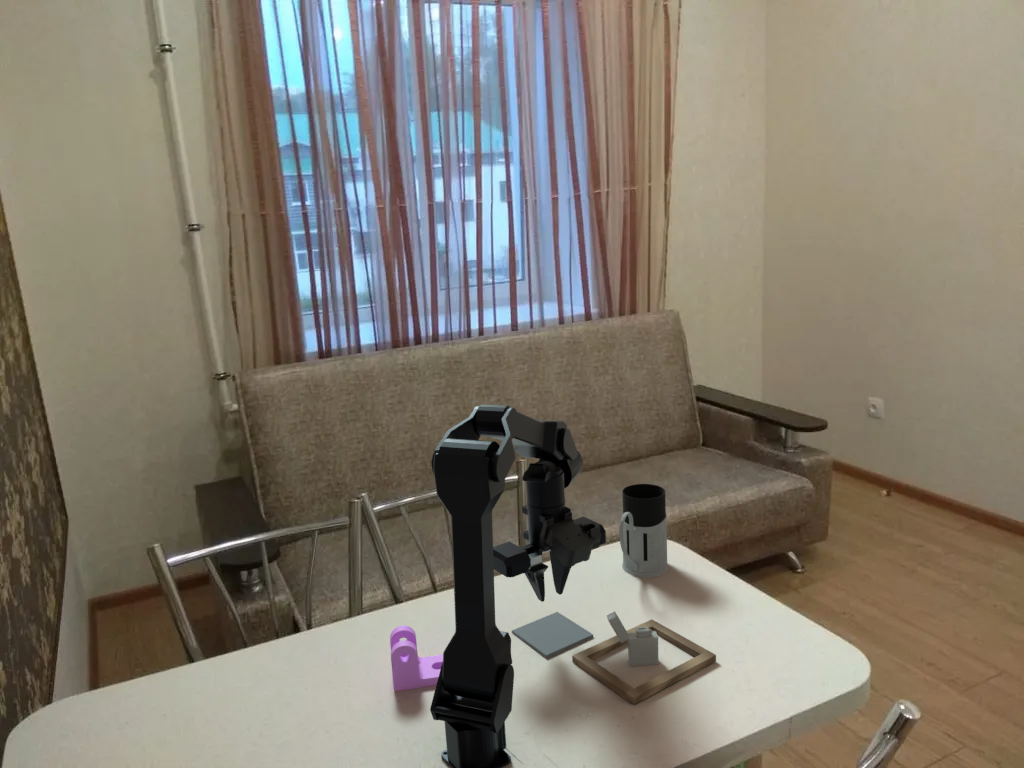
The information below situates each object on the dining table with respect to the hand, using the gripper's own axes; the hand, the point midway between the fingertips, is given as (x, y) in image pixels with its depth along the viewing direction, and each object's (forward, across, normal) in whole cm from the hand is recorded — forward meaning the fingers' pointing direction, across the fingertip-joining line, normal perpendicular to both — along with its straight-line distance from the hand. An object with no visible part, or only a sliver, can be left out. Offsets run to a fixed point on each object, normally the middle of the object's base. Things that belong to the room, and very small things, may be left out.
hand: (550, 597), depth 122 cm
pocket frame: (+7, +6, -14) cm, 17 cm away
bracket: (+7, -19, +3) cm, 20 cm away
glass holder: (+7, +24, +6) cm, 26 cm away
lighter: (+7, +5, -13) cm, 16 cm away
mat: (+7, 0, 0) cm, 7 cm away
